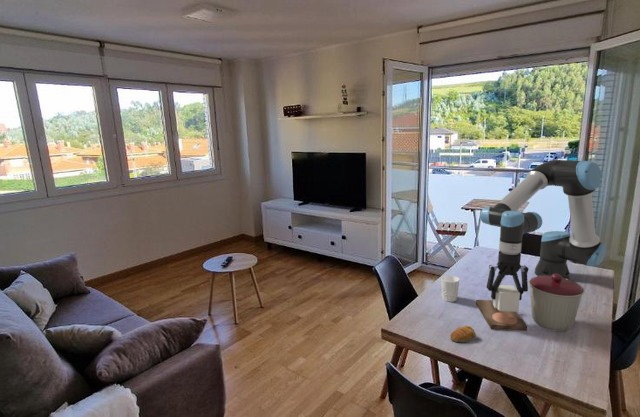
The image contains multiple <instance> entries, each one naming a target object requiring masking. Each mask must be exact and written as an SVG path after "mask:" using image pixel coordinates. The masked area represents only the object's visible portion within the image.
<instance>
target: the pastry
mask: <svg viewBox="0 0 640 417" xmlns="http://www.w3.org/2000/svg"><path fill="white" fill-rule="evenodd" d="M476 338H477V335H476V332H475V330H474V328H473V327H472V326H470V325H463V326H460V327H457V328H456V329H454V330H453V331H452V332H451V334H450V340H452V341H454V342H456V343H467V342H470V341H474V340H475V339H476Z"/></svg>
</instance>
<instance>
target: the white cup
mask: <svg viewBox="0 0 640 417" xmlns="http://www.w3.org/2000/svg"><path fill="white" fill-rule="evenodd" d="M440 288H441V289H440V291H441V299H442V300H443V301H444V302H448V301H450V303H451V302H452V303H454V302H457V300H458V295H459V294H458V293H459V288H460V278H459V277H458V276H456V275H451V274H446V275H445V274H444V275H442V276H441V277H440Z"/></svg>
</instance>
